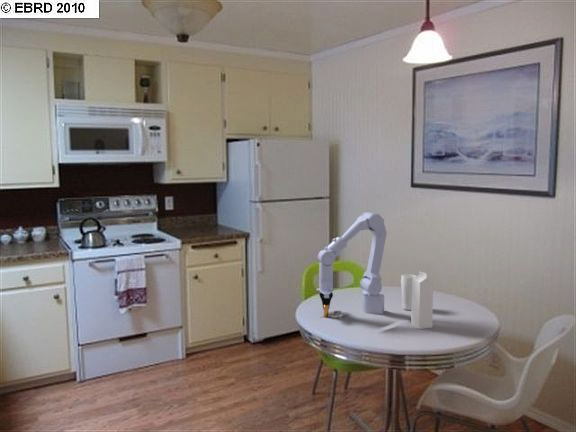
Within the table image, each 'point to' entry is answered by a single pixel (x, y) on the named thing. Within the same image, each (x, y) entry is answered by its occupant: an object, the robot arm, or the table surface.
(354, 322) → the table surface
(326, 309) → the dial
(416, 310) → the milk
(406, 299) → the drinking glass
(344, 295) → the table surface
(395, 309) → the table surface
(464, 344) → the table surface
